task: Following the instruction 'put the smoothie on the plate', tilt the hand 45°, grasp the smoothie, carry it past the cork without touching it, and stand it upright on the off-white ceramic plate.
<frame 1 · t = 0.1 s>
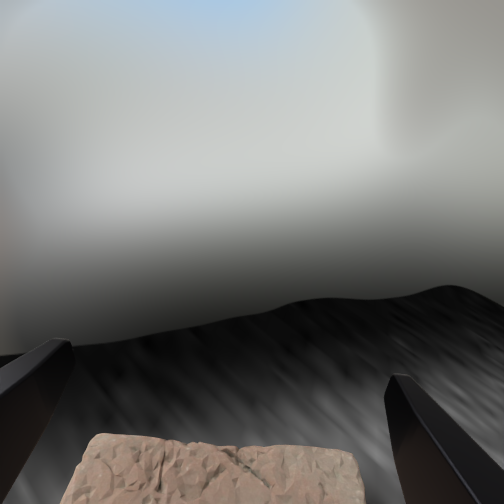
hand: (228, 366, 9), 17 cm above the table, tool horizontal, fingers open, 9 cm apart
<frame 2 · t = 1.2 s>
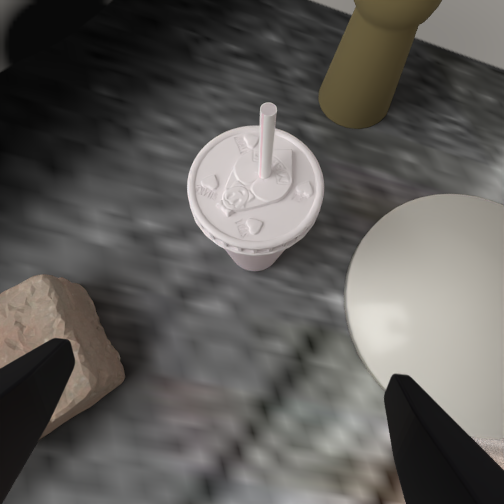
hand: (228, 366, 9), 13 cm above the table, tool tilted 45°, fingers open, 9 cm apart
cork: (353, 100, 28), on the table
plate: (459, 306, 23), on the table
smoothie: (254, 247, 25), on the table
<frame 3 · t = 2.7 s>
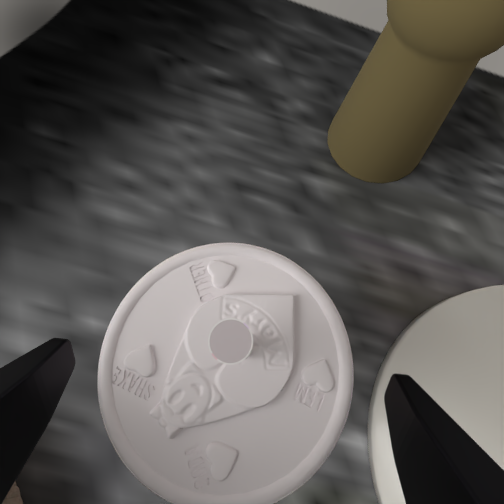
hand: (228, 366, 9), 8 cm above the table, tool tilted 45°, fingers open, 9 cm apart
cork: (373, 142, 21), on the table
smoothie: (240, 358, 18), on the table
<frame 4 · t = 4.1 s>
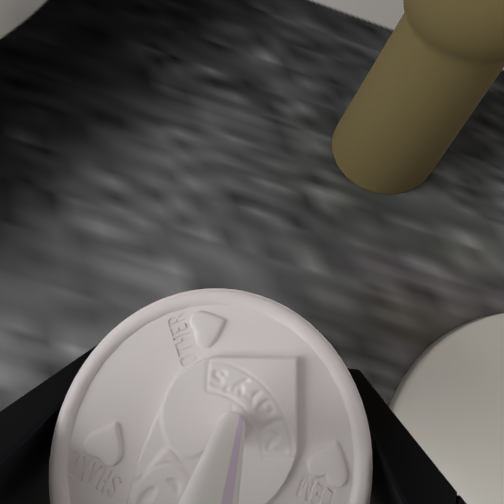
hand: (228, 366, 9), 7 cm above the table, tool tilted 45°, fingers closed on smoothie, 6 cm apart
cork: (382, 149, 20), on the table
smoothie: (235, 390, 16), on the table, touching gripper
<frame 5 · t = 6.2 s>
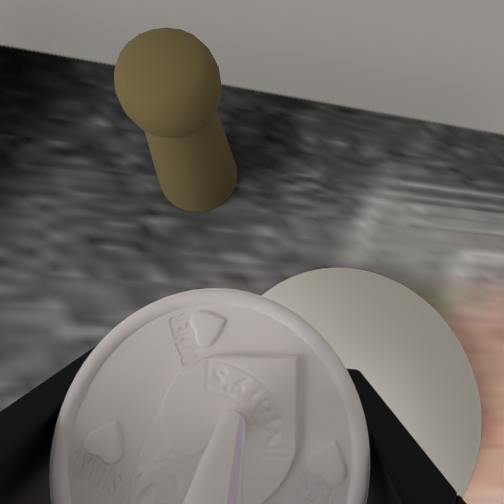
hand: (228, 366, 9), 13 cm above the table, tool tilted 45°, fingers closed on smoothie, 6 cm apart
cork: (199, 176, 26), on the table
plate: (342, 393, 21), on the table
smoothie: (233, 388, 16), point 6 cm above the table, touching gripper
when the fingers open (9 cm above the table, at t = 8.5 s): smoothie stays where it is, resting on plate.
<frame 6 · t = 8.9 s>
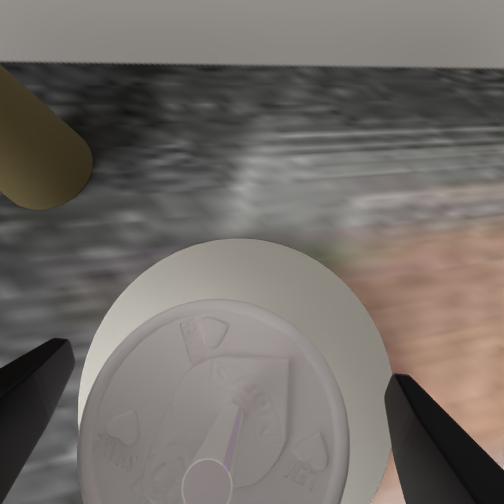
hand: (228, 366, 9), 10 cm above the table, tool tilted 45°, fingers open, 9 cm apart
cork: (48, 169, 22), on the table
plate: (237, 385, 18), on the table
smoothie: (235, 390, 17), point 1 cm above the table, touching plate
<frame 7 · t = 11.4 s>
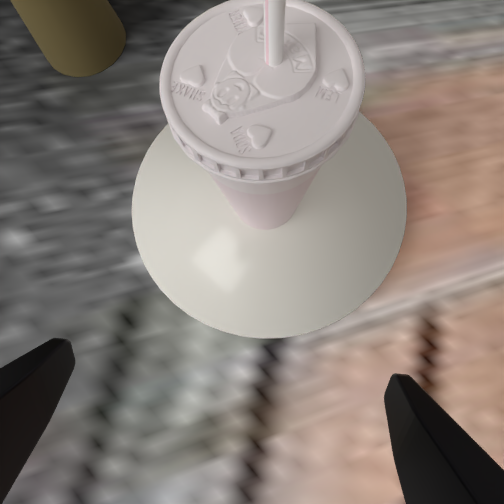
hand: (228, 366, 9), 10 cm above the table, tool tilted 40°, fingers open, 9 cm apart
cork: (87, 44, 25), on the table
plate: (266, 204, 21), on the table
smoothie: (265, 201, 20), point 1 cm above the table, touching plate
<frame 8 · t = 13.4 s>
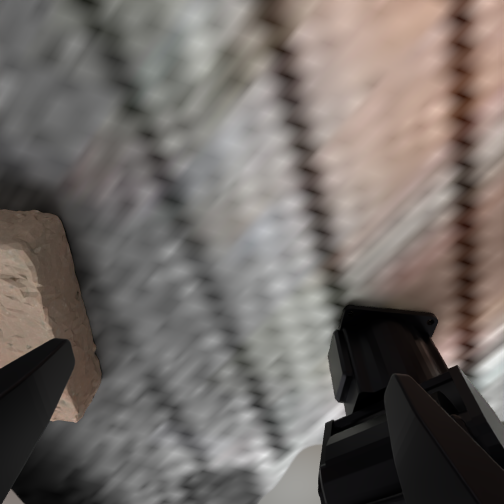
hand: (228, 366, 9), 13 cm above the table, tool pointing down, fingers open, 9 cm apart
brick: (39, 302, 27), on the table
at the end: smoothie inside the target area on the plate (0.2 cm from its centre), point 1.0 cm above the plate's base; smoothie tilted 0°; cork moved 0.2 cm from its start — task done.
